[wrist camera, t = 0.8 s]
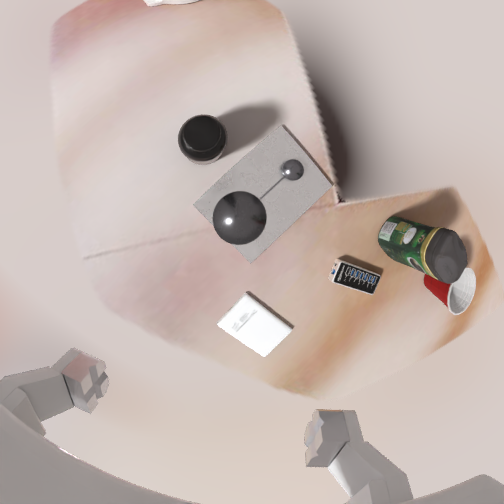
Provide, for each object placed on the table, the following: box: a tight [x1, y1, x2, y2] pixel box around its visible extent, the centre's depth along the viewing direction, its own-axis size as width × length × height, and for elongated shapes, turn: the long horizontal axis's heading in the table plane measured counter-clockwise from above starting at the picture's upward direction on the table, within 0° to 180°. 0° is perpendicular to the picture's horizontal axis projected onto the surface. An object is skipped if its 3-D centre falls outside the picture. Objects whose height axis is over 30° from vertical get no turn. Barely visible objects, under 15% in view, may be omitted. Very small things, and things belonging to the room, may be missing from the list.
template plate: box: [193, 126, 332, 263], centre depth 45 cm, size 14×20×2 cm
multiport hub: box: [328, 259, 381, 295], centre depth 52 cm, size 4×11×2 cm, turn 70°
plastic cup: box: [424, 268, 476, 315], centre depth 51 cm, size 11×11×12 cm
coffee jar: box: [378, 216, 468, 284], centre depth 43 cm, size 10×8×19 cm
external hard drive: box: [217, 292, 292, 357], centre depth 51 cm, size 2×8×12 cm
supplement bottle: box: [178, 115, 227, 165], centre depth 36 cm, size 7×7×12 cm
